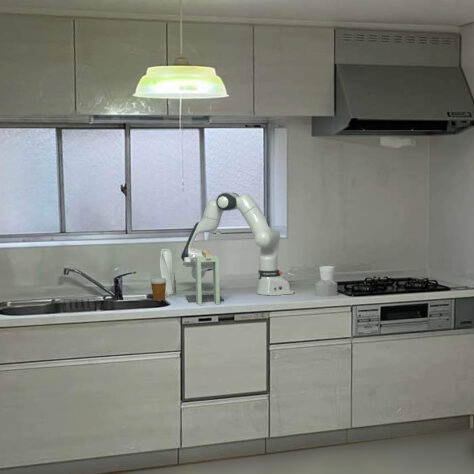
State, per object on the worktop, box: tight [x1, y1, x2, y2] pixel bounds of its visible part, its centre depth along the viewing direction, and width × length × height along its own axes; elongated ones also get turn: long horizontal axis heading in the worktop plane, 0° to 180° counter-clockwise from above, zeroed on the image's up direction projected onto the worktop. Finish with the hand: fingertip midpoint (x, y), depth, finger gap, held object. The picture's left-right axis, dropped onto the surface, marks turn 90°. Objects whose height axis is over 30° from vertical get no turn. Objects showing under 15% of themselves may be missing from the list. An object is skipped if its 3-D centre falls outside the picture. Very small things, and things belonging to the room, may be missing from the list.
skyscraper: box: [159, 248, 178, 297], centre depth 435 cm, size 8×8×28 cm
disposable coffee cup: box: [149, 277, 167, 301], centre depth 419 cm, size 10×10×12 cm
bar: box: [201, 249, 212, 259], centre depth 405 cm, size 19×2×2 cm, turn 9°
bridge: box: [195, 255, 221, 306], centre depth 402 cm, size 12×10×26 cm
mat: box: [185, 293, 225, 303], centre depth 420 cm, size 20×21×1 cm
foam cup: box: [318, 265, 336, 281], centre depth 453 cm, size 10×9×13 cm
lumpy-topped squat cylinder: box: [314, 279, 338, 297], centre depth 426 cm, size 10×13×9 cm
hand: (202, 256), depth 425 cm, fingers open, 8 cm apart
